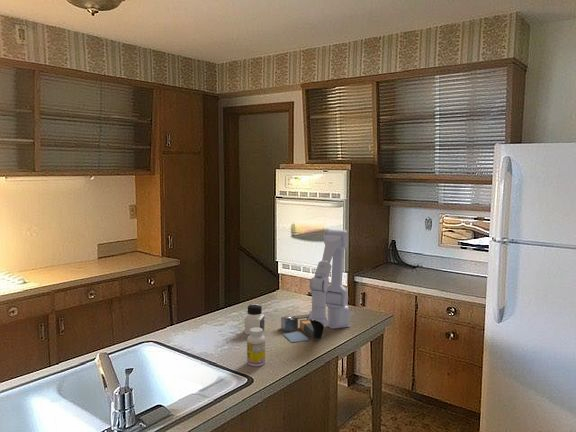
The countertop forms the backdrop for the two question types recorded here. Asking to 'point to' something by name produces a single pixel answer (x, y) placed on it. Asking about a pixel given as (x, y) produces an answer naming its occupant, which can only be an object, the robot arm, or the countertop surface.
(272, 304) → the countertop surface
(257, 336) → the supplement bottle
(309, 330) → the plug
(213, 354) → the countertop surface
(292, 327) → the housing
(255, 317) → the medicine bottle
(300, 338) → the mat
